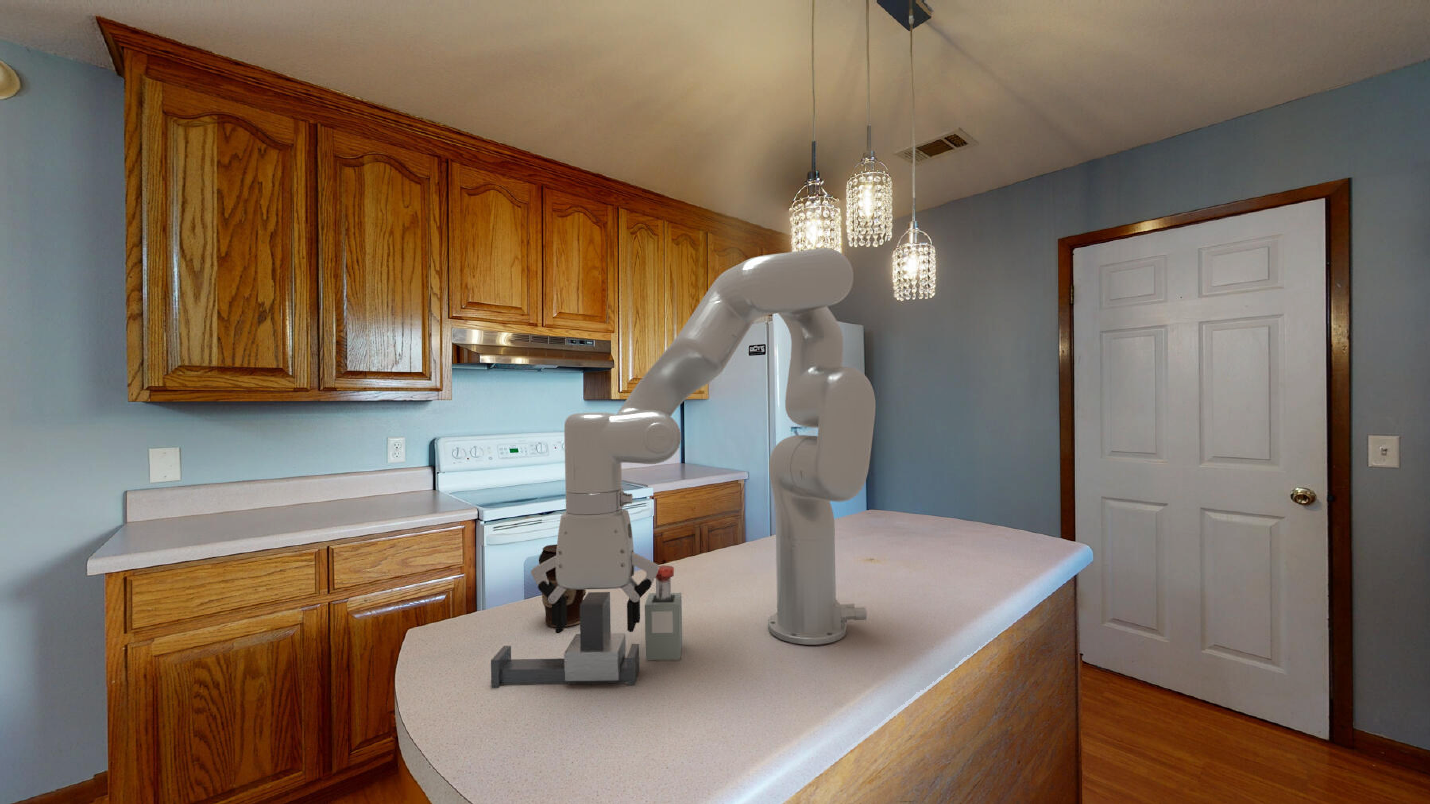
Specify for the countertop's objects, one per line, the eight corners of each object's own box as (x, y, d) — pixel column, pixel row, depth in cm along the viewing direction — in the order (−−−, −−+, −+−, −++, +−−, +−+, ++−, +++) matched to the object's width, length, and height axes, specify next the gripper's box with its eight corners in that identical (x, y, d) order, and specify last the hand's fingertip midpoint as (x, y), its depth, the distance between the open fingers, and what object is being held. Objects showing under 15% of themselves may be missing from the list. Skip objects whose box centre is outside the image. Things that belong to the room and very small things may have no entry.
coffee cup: (575, 633, 90) (574, 553, 90) (529, 630, 92) (527, 552, 92) (597, 613, 98) (596, 540, 99) (554, 610, 100) (553, 539, 100)
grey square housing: (682, 644, 85) (681, 592, 85) (679, 660, 80) (679, 604, 80) (649, 645, 85) (649, 593, 85) (645, 660, 80) (644, 605, 80)
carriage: (625, 659, 78) (624, 590, 78) (618, 681, 72) (616, 605, 72) (576, 660, 78) (575, 591, 78) (564, 681, 72) (563, 606, 72)
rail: (639, 669, 77) (639, 643, 77) (634, 685, 73) (634, 658, 73) (504, 671, 77) (503, 645, 77) (491, 687, 73) (490, 660, 73)
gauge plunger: (675, 611, 84) (674, 565, 84) (673, 619, 81) (672, 571, 81) (654, 611, 84) (653, 565, 84) (651, 619, 81) (651, 571, 81)
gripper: (660, 497, 79) (662, 617, 79) (539, 499, 79) (542, 619, 79) (654, 506, 71) (657, 639, 71) (521, 509, 71) (523, 641, 71)
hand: (596, 628), depth 75 cm, fingers open, 9 cm apart
